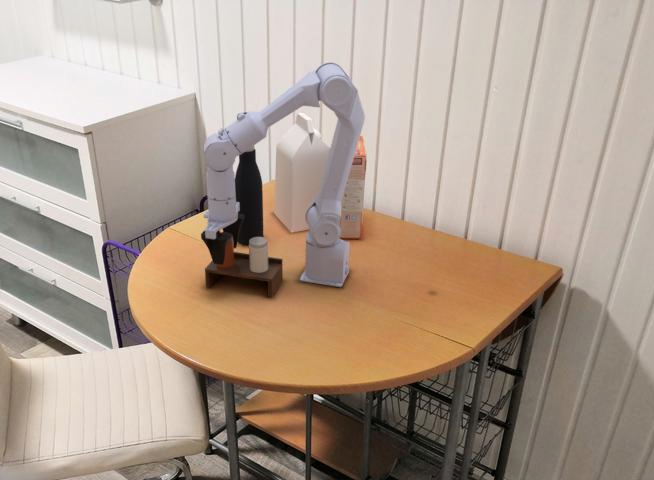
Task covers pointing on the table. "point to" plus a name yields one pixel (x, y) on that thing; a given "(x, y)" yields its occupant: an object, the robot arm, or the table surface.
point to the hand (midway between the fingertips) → (225, 255)
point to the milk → (298, 172)
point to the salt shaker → (258, 254)
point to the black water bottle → (249, 196)
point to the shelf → (248, 272)
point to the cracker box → (354, 195)
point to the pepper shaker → (228, 252)
